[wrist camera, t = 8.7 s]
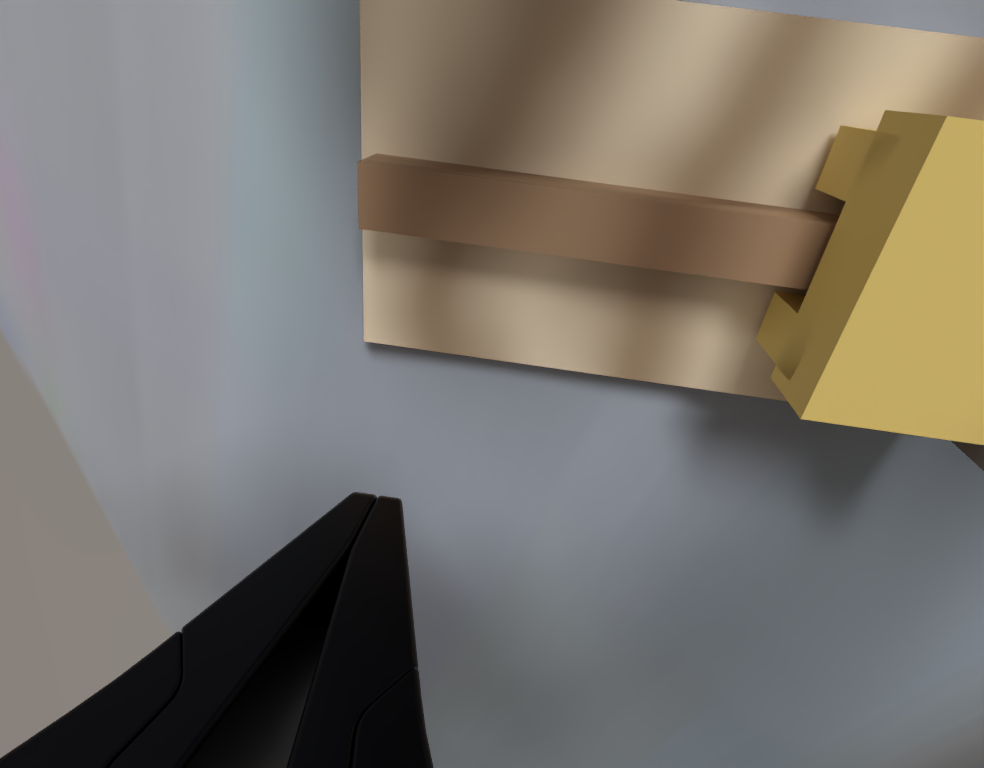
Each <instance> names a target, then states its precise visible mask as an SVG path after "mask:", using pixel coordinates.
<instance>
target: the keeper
mask: <svg viewBox="0 0 984 768" xmlns="http://www.w3.org/2000/svg"><path fill="white" fill-rule="evenodd" d="M815 189H817V190H819V191H822V192H824V193H827V194H829V195H831V196H834V197H836V198H838V199H841V200H843V201H846V202H845V205H844V207H843V209H842V212H841V214H840V216H839V219H838V221H837V223H836V226H835V228H834V230H833V233H832V235H831V237H830V240H829V242H828V244H827V247H826V249H825V251H824V254H823V256H822V258H821V261H820V263H819V265H818V268H817V270H816V272H815V275H814V277H813V279H812V282H811V284H810V286H809V289H808V291H807V293H806V296H803V295H795V294H788V293H781V292H774V294H773V297H772V299H771V302H770V304H769V307H768V309H767V312H766V314H765V317H764V320H763V322H762V325H761V327H760V330H759V332H758V335H757V337H756V340H757V341H758V342H759V343H760V345H761V346H762V347H763V349H764V350H765V351H766V352H767V354H768V355H769V356H770V357H771V359H772V360H773V361H774V363H775V364H776V366H775V368H774V370H773V373H772V375H771V377H770V378H771V379H772V381H773V382H774V383H775V385H776V386H777V387H778V389H779V390H780V392H781V393H782V394H783V396H784V397H785V398H786V400H787V401H788V402H789V404H790V405H791V407H792V408H793V409H794V411H795V412H796V413H797V415H798V416H799V418H800V419H804V420H811V421H818V422H825V423H832V424H839V425H846V426H853V427H860V428H867V429H874V430H881V431H888V432H895V433H902V434H909V435H916V436H923V437H930V438H937V439H944V440H951V441H958V442H965V443H972V444H979V445H984V121H982V120H974V119H966V118H959V117H951V116H941V115H931V114H921V113H911V112H901V111H891V110H885V112H884V114H883V116H882V119H881V121H880V123H879V126H878V128H877V130H874V129H866V128H858V127H850V126H842V125H840V128H839V130H838V133H837V135H836V138H835V140H834V143H833V146H832V148H831V151H830V153H829V156H828V158H827V161H826V163H825V166H824V168H823V171H822V173H821V176H820V178H819V181H818V183H817V186H816V188H815Z"/></svg>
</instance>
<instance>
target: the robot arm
mask: <svg viewBox="0 0 984 768" xmlns="http://www.w3.org/2000/svg"><path fill="white" fill-rule="evenodd" d="M0 768H433V763H432V758H431V753H430V749H429V744H428V739H427V734H426V728H425V720H424V713H423V706H422V698H421V689H420V679H419V671H418V661H417V650H416V640H415V630H414V620H413V609H412V599H411V589H410V579H409V568H408V558H407V548H406V538H405V527H404V517H403V507H402V501H401V499H399V498H393V497H387V496H379V497H378V498H377V497H376V496H375V495H373V494H366V493H360V492H354V493H352V494H350V495H349V496H348V497H346V498H345V499H344V500H343V501H341V502H340V503H339V504H338V505H336V506H335V507H334V508H333V509H331V510H330V511H329V512H328V513H326V514H325V515H324V516H322V517H321V518H320V519H319V520H317V521H316V522H315V523H314V524H312V525H311V526H310V527H309V528H307V529H306V530H305V531H304V532H302V533H301V534H300V535H299V536H297V537H296V538H295V539H293V540H292V541H291V542H290V543H288V544H287V545H286V546H285V547H283V548H282V549H281V550H280V551H278V552H277V553H276V554H275V555H273V556H272V557H271V558H270V559H268V560H267V561H266V562H264V563H263V564H262V565H261V566H259V567H258V568H257V569H256V570H254V571H253V572H252V573H251V574H249V575H248V576H247V577H246V578H244V579H243V580H242V581H241V582H239V583H238V584H237V585H236V586H234V587H233V588H232V589H230V590H229V591H228V592H227V593H225V594H224V595H223V596H222V597H220V598H219V599H218V600H217V601H215V602H214V603H213V604H212V605H210V606H209V607H208V608H207V609H205V610H204V611H203V612H201V613H200V614H199V615H198V616H196V617H195V618H194V619H193V620H191V621H190V622H189V623H188V624H186V625H185V626H184V627H183V628H182V633H181V632H176V633H175V634H173V635H172V636H171V637H170V638H169V639H167V640H166V641H165V642H163V643H162V644H161V645H160V646H158V647H157V648H156V649H155V650H153V651H152V652H151V653H149V654H148V655H147V656H145V657H144V658H143V659H141V660H140V661H139V662H137V663H136V664H135V665H133V666H132V667H131V668H130V669H128V670H127V671H126V672H124V673H123V674H122V675H120V676H119V677H118V678H116V679H115V680H114V681H112V682H111V683H109V684H108V685H106V686H105V687H104V688H102V689H101V690H99V691H98V692H97V693H95V694H94V695H92V696H91V697H89V698H88V699H87V700H85V701H84V702H83V703H81V704H79V705H78V706H77V707H75V708H74V709H72V710H71V711H69V712H68V713H66V714H65V715H64V716H62V717H61V718H59V719H58V720H56V721H55V722H53V723H52V724H50V725H49V726H47V727H46V728H44V729H43V730H41V731H40V732H38V733H37V734H35V735H34V736H33V737H31V738H30V739H28V740H27V741H25V742H24V743H22V744H21V745H19V746H18V747H16V748H15V749H13V750H12V751H10V752H9V753H7V754H6V755H4V756H3V757H2V758H0Z"/></svg>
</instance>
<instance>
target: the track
mask: <svg viewBox="0 0 984 768" xmlns="http://www.w3.org/2000/svg"><path fill="white" fill-rule="evenodd" d="M360 62H361V141H362V160H360V161H358V214H359V229H363V299H364V341H365V342H372V343H379V344H386V345H394V346H401V347H408V348H415V349H422V350H429V351H436V352H443V353H450V354H457V355H464V356H471V357H478V358H485V359H492V360H499V361H506V362H513V363H520V364H527V365H534V366H541V367H548V368H555V369H563V370H570V371H577V372H584V373H591V374H598V375H605V376H612V377H619V378H626V379H633V380H640V381H647V382H654V383H661V384H668V385H675V386H682V387H689V388H696V389H703V390H710V391H717V392H724V393H732V394H739V395H746V396H753V397H760V398H767V399H774V400H781V401H787V400H786V398H785V397H784V396H783V394H782V393H781V392H780V390H779V389H778V387H777V386H776V385H775V383H774V382H773V381H772V379H771V378H770V377H771V375H772V373H773V370H774V368H775V366H776V364H775V363H774V361H773V360H772V359H771V357H770V356H769V355H768V354H767V352H766V351H765V350H764V349H763V347H762V346H761V345H760V343H759V342H758V341H757V340H756V337H757V335H758V332H759V330H760V327H761V325H762V322H763V320H764V317H765V314H766V312H767V309H768V307H769V304H770V302H771V299H772V297H773V294H774V292H781V293H788V294H795V295H803V296H806V293H807V291H808V289H809V286H810V284H811V282H812V279H813V277H814V275H815V272H816V270H817V268H818V265H819V263H820V261H821V258H822V256H823V254H824V251H825V249H826V247H827V244H828V242H829V240H830V237H831V235H832V233H833V230H834V228H835V226H836V223H837V221H838V219H839V216H840V214H841V212H842V209H843V207H844V205H845V202H846V201H843V200H841V199H838V198H836V197H834V196H831V195H829V194H827V193H824V192H822V191H819V190H817V189H815V188H816V186H817V183H818V181H819V178H820V176H821V173H822V171H823V168H824V166H825V163H826V161H827V158H828V156H829V153H830V151H831V148H832V146H833V143H834V140H835V138H836V135H837V133H838V130H839V128H840V125H842V126H850V127H858V128H866V129H874V130H877V128H878V126H879V123H880V121H881V119H882V116H883V114H884V112H885V110H891V111H901V112H911V113H921V114H931V115H941V116H951V117H959V118H966V119H974V120H982V121H984V38H978V37H970V36H962V35H954V34H946V33H938V32H929V31H921V30H913V29H905V28H897V27H888V26H880V25H872V24H864V23H856V22H848V21H839V20H831V19H823V18H815V17H807V16H798V15H790V14H782V13H774V12H766V11H758V10H749V9H741V8H733V7H725V6H717V5H709V4H700V3H692V2H684V1H676V0H360ZM952 442H953V443H954V444H955V445H956V446H957V447H958V448H959V449H960V450H962V451H963V452H964V453H965V454H966V455H967V456H968V457H969V458H970V459H971V460H973V461H974V462H975V463H976V464H977V465H978V466H979V467H980V468H981V469H982V470H984V445H979V444H972V443H965V442H958V441H952Z"/></svg>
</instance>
